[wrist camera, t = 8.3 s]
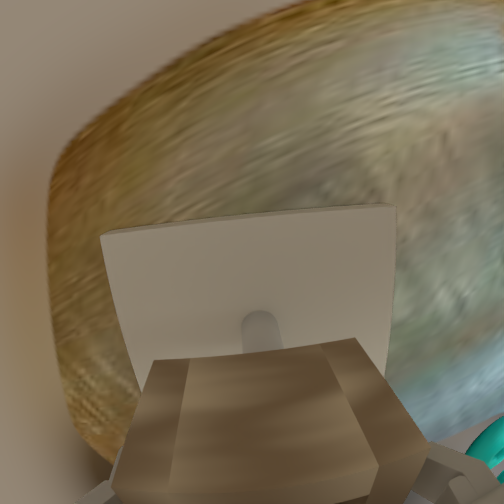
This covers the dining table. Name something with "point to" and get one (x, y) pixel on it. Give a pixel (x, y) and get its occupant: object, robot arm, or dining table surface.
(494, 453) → the donuts
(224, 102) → the dining table surface
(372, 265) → the post board
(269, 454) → the collar
